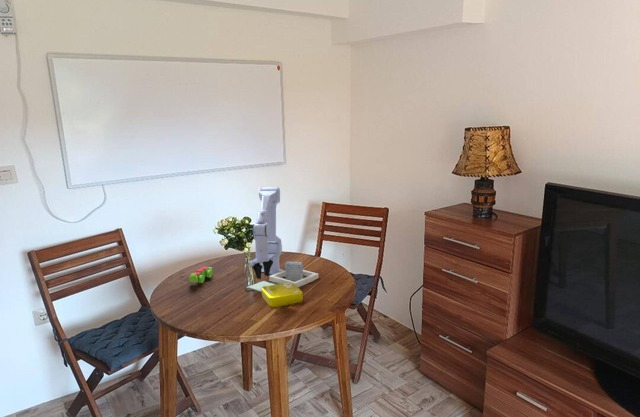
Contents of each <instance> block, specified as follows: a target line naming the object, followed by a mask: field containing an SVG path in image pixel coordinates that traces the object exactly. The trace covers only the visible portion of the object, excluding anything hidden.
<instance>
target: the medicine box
mask: <svg viewBox="0 0 640 417" xmlns="http://www.w3.org/2000/svg"><path fill="white" fill-rule="evenodd" d="M303 264H304V262H302V261H290V260H289V261H286V263H285V264H284V270H285V277H284V279H287V280H290V281H294V282H296V281H298V280H301V279H303V278H304V275H303V270H304V267H303Z"/></svg>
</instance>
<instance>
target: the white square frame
mask: <svg viewBox="0 0 640 417" xmlns="http://www.w3.org/2000/svg"><path fill="white" fill-rule="evenodd" d="M304 276H305V277H304ZM268 277H269V281H268V282H270V283H274V284H283V283H290V282H291V283H293V284H295V285H296V286H297V287H298V288H300V287H303V286H305V285H307V284H309V283H312V282H314V281H315V280H318V279H319V273H318V272H317V273H316V272H314V271H313V272H312V271H310V270H305V269H303V279H301V280H298V281H290V280H287V279H285V269H284V270H283V271H281V272H278V273H275V274H270V275H269V276H268Z"/></svg>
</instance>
